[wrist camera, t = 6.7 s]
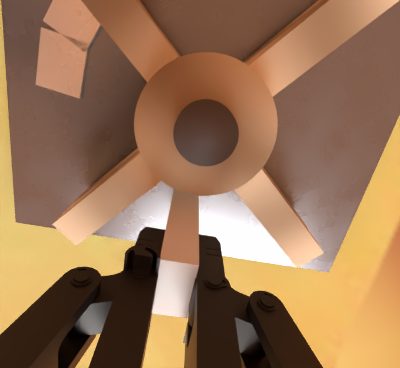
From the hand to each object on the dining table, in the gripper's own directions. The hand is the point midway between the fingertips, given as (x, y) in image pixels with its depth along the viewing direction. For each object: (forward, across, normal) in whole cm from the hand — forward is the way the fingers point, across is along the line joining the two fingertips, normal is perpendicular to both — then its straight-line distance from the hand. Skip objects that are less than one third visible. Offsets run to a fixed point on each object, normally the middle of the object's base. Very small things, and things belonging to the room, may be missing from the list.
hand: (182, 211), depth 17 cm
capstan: (+2, 0, +6) cm, 6 cm away
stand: (+3, 0, +6) cm, 7 cm away
